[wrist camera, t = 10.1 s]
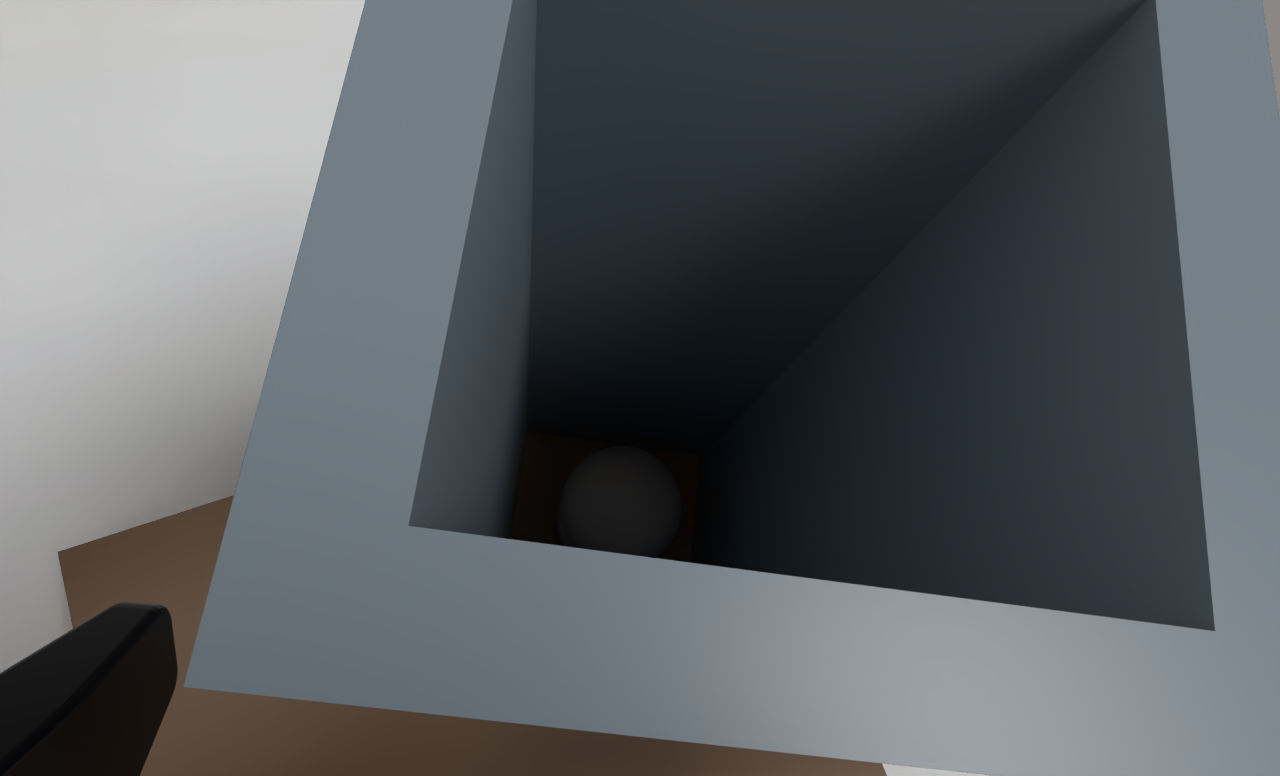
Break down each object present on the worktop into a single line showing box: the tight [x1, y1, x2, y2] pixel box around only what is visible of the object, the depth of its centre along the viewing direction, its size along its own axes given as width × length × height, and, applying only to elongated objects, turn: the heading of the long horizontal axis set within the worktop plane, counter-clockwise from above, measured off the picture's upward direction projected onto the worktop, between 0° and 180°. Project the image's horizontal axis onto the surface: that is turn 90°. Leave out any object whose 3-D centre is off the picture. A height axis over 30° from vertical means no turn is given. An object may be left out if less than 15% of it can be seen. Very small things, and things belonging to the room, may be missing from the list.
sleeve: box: [183, 0, 1280, 776], centre depth 10 cm, size 5×5×13 cm
